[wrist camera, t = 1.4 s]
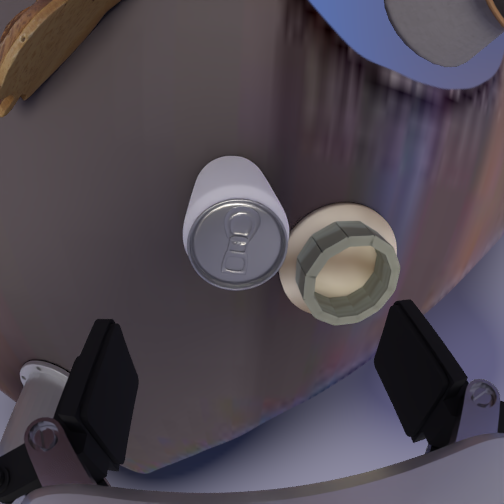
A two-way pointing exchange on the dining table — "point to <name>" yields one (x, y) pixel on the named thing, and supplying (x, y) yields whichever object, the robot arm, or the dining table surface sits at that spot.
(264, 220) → the can
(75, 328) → the dining table surface
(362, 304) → the cup holder
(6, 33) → the wooden carving
